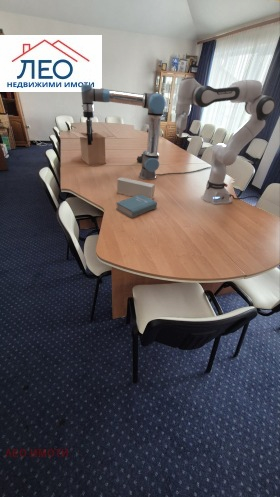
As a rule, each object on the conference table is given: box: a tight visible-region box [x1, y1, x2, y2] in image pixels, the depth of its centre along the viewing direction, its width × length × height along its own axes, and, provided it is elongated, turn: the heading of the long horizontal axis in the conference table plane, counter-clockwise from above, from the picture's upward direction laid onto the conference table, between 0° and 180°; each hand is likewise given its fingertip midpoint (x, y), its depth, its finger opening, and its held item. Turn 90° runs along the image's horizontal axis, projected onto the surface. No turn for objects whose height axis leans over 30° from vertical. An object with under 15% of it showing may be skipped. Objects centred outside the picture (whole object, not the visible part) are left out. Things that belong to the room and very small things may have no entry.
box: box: [70, 130, 114, 166], centre depth 229 cm, size 44×36×27 cm
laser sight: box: [136, 153, 143, 164], centre depth 240 cm, size 10×22×10 cm, turn 78°
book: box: [115, 195, 158, 219], centre depth 150 cm, size 23×16×5 cm
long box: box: [116, 177, 156, 200], centre depth 167 cm, size 28×6×11 cm, turn 66°
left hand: (90, 143), depth 172 cm, fingers open, 13 cm apart
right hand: (178, 135), depth 143 cm, fingers open, 8 cm apart
